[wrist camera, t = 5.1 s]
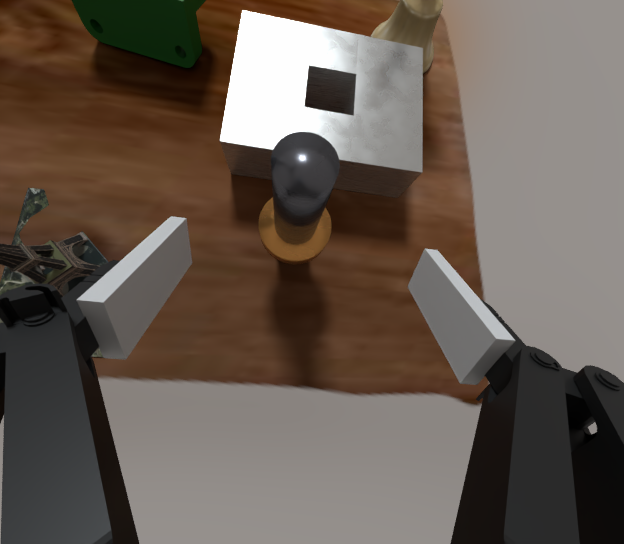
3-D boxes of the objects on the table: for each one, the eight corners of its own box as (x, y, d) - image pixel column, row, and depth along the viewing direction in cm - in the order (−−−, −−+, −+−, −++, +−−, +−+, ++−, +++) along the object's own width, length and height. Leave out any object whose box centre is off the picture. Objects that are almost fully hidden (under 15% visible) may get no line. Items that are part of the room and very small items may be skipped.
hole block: (230, 174, 26) (219, 141, 22) (248, 62, 29) (242, 10, 24) (397, 197, 28) (422, 172, 23) (400, 90, 31) (422, 47, 26)
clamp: (205, 71, 33) (224, -9, 26) (187, 98, 31) (202, 17, 23) (97, -7, 28) (83, -134, 21) (63, 17, 26) (34, -118, 18)
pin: (260, 271, 25) (235, 210, 11) (267, 217, 26) (252, 100, 12) (317, 277, 26) (361, 226, 12) (321, 224, 27) (367, 119, 13)
